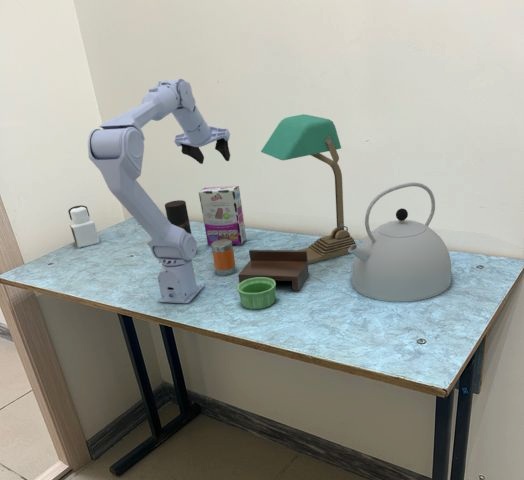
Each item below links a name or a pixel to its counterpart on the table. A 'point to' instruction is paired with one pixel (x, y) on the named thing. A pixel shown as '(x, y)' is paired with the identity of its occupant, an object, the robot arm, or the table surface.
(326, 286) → the table surface
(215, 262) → the tin can
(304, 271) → the shelf
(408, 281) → the kettle
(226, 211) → the candy bar box
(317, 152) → the banker's lamp
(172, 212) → the deodorant
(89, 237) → the white handled box
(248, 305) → the ramekin
